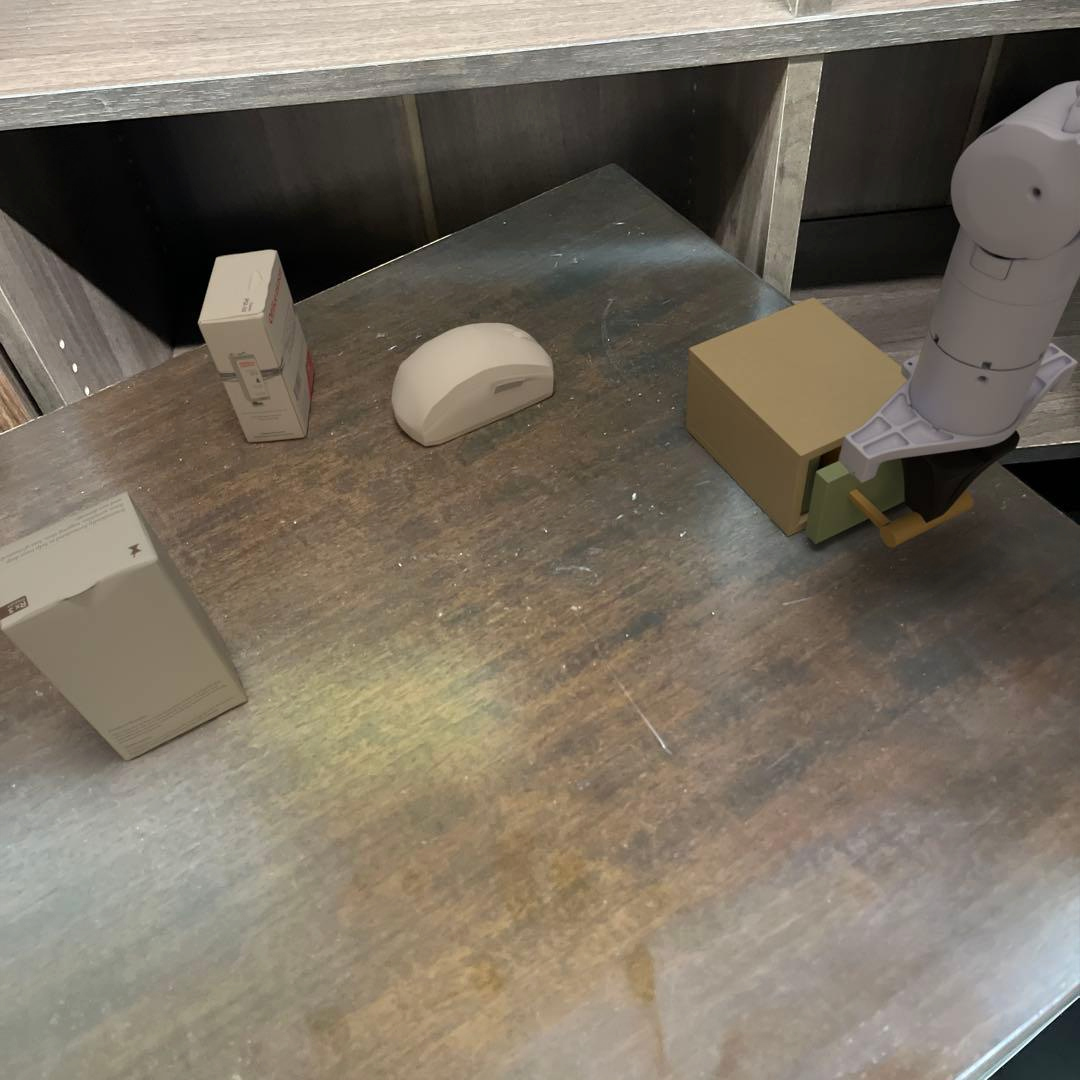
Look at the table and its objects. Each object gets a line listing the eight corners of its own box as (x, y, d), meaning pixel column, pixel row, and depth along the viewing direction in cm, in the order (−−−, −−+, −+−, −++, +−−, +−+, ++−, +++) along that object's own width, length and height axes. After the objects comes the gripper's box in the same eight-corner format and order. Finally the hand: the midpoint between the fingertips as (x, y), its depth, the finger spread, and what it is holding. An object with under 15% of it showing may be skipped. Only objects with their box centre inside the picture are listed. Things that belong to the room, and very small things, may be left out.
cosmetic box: (223, 639, 65) (134, 481, 54) (252, 706, 61) (163, 552, 50) (97, 698, 63) (-23, 546, 51) (119, 772, 59) (-5, 625, 48)
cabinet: (912, 477, 69) (936, 394, 63) (787, 537, 66) (800, 456, 61) (801, 378, 77) (813, 296, 71) (685, 428, 74) (688, 347, 68)
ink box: (260, 374, 83) (213, 251, 74) (318, 368, 83) (278, 244, 74) (245, 445, 77) (193, 321, 68) (308, 439, 77) (263, 314, 68)
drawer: (979, 534, 64) (1003, 471, 60) (862, 593, 62) (879, 532, 57) (822, 395, 74) (833, 332, 70) (716, 441, 72) (720, 379, 67)
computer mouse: (565, 393, 78) (560, 328, 73) (416, 456, 75) (400, 393, 70) (527, 350, 82) (520, 286, 77) (383, 409, 79) (366, 345, 74)
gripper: (1037, 248, 54) (968, 426, 65) (821, 338, 51) (785, 511, 61) (1142, 318, 50) (1050, 496, 61) (915, 421, 46) (859, 591, 57)
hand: (922, 508), depth 61 cm, fingers closed, pressing on drawer
